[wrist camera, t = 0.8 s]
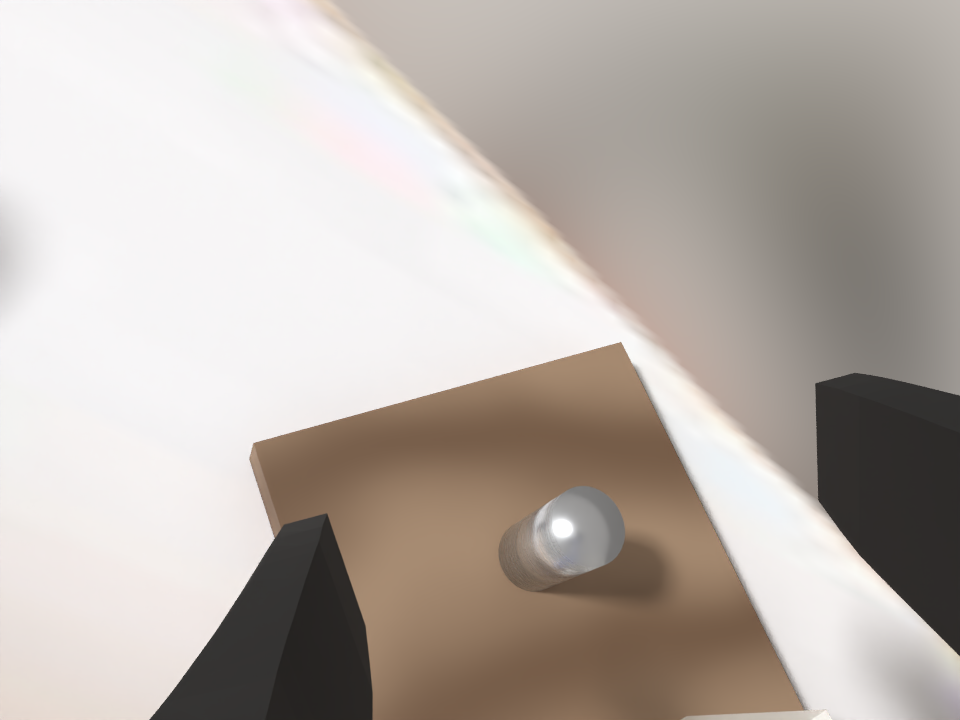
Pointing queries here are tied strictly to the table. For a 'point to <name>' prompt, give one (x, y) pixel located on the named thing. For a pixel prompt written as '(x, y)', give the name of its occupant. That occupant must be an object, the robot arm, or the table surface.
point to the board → (476, 567)
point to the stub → (562, 539)
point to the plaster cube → (767, 716)
